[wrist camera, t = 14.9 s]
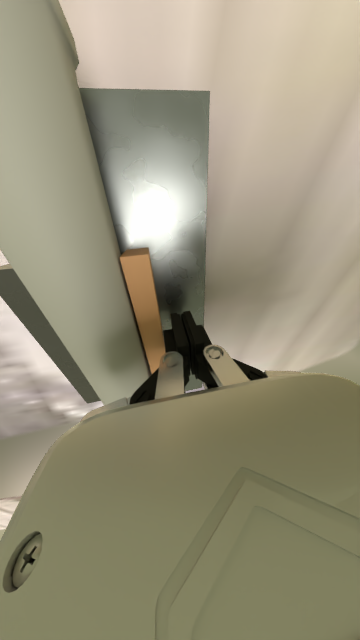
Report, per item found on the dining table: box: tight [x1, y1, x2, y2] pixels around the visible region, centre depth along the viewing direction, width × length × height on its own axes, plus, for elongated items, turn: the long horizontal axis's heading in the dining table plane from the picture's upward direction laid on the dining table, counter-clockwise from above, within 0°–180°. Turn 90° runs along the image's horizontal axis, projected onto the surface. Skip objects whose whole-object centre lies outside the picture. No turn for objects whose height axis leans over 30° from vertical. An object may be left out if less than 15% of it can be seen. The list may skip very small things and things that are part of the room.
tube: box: [0, 0, 151, 405], centre depth 11 cm, size 5×5×25 cm
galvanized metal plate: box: [0, 88, 210, 403], centre depth 13 cm, size 12×25×4 cm, turn 4°
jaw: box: [120, 248, 165, 374], centre depth 12 cm, size 2×12×3 cm, turn 3°
